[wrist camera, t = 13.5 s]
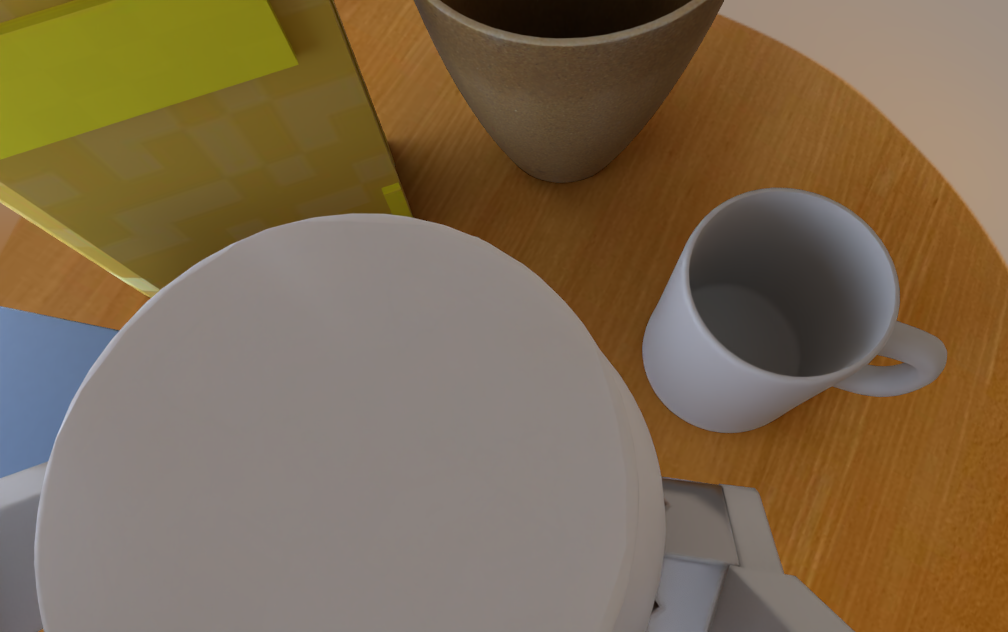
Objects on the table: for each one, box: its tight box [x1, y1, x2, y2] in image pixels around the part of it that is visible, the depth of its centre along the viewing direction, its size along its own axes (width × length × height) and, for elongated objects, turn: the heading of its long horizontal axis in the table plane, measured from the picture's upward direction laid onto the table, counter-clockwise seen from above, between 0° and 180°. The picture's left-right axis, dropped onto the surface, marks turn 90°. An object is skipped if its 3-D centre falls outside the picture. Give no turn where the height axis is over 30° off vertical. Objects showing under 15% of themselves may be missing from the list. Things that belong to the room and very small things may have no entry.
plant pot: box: [414, 0, 724, 183], centre depth 34 cm, size 15×15×16 cm
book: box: [0, 0, 413, 298], centre depth 29 cm, size 17×7×25 cm, turn 109°
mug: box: [642, 188, 947, 433], centre depth 31 cm, size 12×8×11 cm
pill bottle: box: [34, 213, 666, 632], centre depth 10 cm, size 6×6×11 cm
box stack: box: [0, 306, 119, 478], centre depth 31 cm, size 11×11×11 cm
